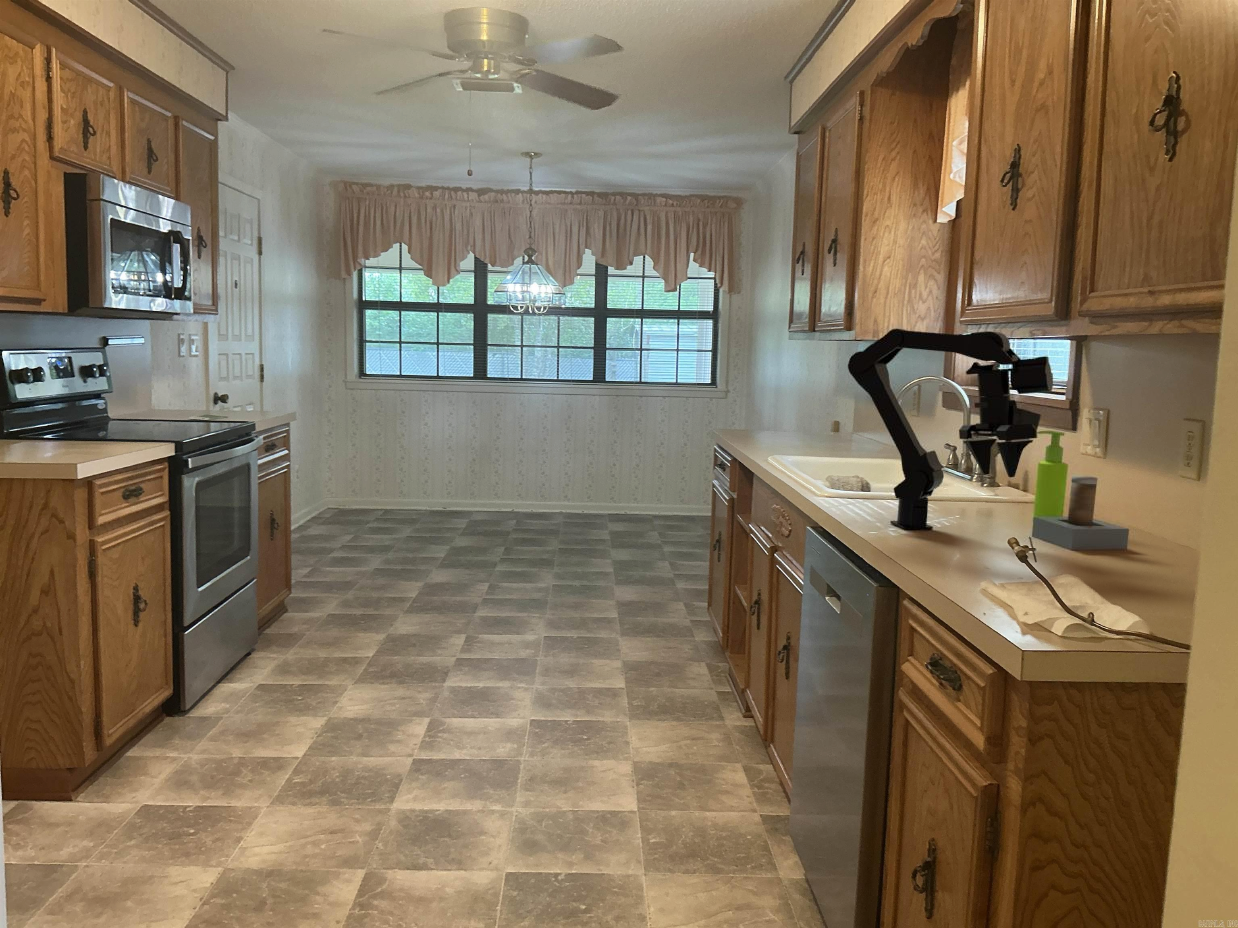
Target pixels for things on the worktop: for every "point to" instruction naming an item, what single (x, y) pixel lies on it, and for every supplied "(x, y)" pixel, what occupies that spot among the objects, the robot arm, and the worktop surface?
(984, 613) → the worktop surface
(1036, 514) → the soap dispenser
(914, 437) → the robot arm
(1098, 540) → the socket block
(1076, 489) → the peg
